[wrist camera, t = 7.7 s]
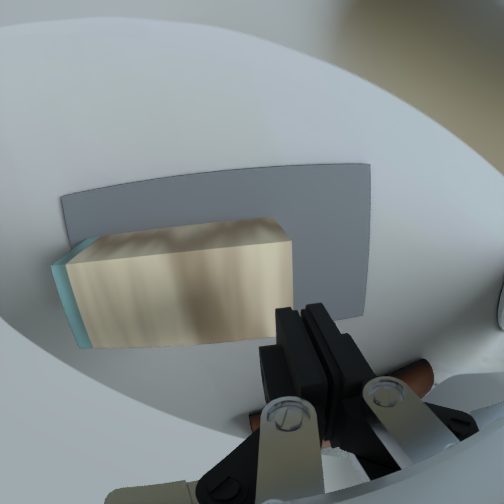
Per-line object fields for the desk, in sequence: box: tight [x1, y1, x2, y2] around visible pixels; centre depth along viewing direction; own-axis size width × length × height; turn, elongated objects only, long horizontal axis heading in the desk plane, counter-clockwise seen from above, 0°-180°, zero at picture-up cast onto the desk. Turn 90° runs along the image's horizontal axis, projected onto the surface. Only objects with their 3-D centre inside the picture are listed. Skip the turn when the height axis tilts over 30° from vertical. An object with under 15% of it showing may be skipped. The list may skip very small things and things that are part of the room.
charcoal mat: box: [61, 164, 371, 321], centre depth 19 cm, size 20×11×1 cm, turn 94°
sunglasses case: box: [249, 359, 434, 448], centre depth 24 cm, size 18×7×7 cm
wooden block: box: [50, 217, 293, 348], centre depth 16 cm, size 5×5×12 cm
